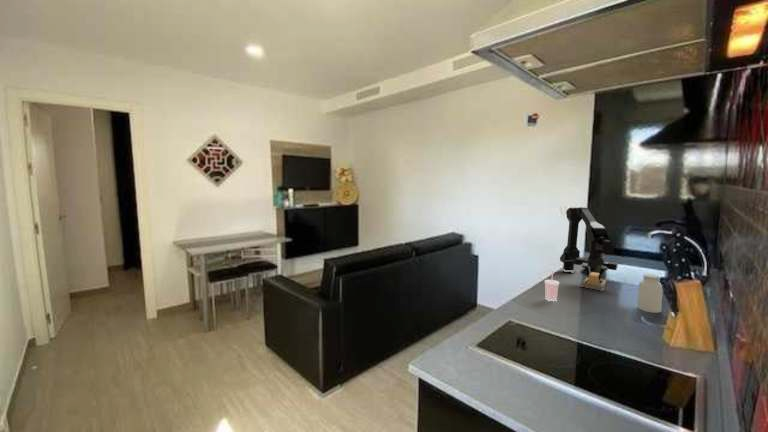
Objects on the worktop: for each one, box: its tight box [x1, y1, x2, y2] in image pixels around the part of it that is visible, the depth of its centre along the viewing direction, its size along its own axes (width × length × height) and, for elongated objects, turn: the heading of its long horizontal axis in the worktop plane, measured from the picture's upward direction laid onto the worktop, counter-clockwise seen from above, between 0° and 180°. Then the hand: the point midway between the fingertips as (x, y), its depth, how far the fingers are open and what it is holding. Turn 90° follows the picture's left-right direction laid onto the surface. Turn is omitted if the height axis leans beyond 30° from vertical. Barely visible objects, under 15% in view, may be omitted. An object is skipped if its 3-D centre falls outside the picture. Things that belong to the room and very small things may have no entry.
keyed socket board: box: [581, 276, 607, 292], centre depth 173 cm, size 16×10×2 cm, turn 139°
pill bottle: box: [637, 273, 664, 314], centre depth 140 cm, size 8×8×15 cm
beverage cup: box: [544, 270, 560, 303], centre depth 152 cm, size 6×6×14 cm
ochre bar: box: [588, 271, 600, 284], centre depth 173 cm, size 8×4×4 cm, turn 139°
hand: (594, 279), depth 173 cm, fingers closed on ochre bar, 4 cm apart
